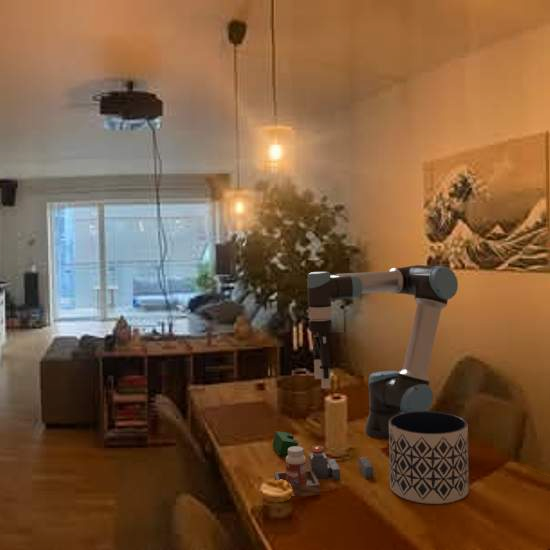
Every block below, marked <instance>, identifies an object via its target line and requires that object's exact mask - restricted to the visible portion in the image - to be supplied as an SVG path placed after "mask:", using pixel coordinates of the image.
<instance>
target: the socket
mask: <svg viewBox="0 0 550 550" xmlns="http://www.w3.org/2000/svg"><path fill="white" fill-rule="evenodd" d="M308 467H309V468H308V470H313V471H314V473H315V476H316V478H317V480H329V478H330V479H331V480H332V482H334V481H335V482H336V481H341V469H340V466H339V465H338V463H337V461H336V459H335V458H331V459H328V457H327V455H326V453H325V452H323V453H322V457H320V458H314V453H308ZM358 469H359V470H360V471H361V473H362V475H363V476H364V478H365V479H374V466H373V464H372V463H371V462H370V460H369V458H368V457H367V456H360V457H358Z"/></svg>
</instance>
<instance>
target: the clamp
mask: <svg viewBox="0 0 550 550" xmlns="http://www.w3.org/2000/svg"><path fill="white" fill-rule="evenodd" d="M298 445H299V441H298V440H297V439H294V434H292V433H290V432H285V431H278V430H275V432H274V437H273V441H272V448H273V449H274V451H275V452H276V454H277V456H281V457H286V456H287V454H288V448H289V447H293V446H298Z"/></svg>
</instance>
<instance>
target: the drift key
mask: <svg viewBox="0 0 550 550" xmlns="http://www.w3.org/2000/svg"><path fill="white" fill-rule="evenodd" d="M310 452H311V454H313V453H314V458H320V457H322V453H325V446H323V445H312V446H311V450H310Z"/></svg>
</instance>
